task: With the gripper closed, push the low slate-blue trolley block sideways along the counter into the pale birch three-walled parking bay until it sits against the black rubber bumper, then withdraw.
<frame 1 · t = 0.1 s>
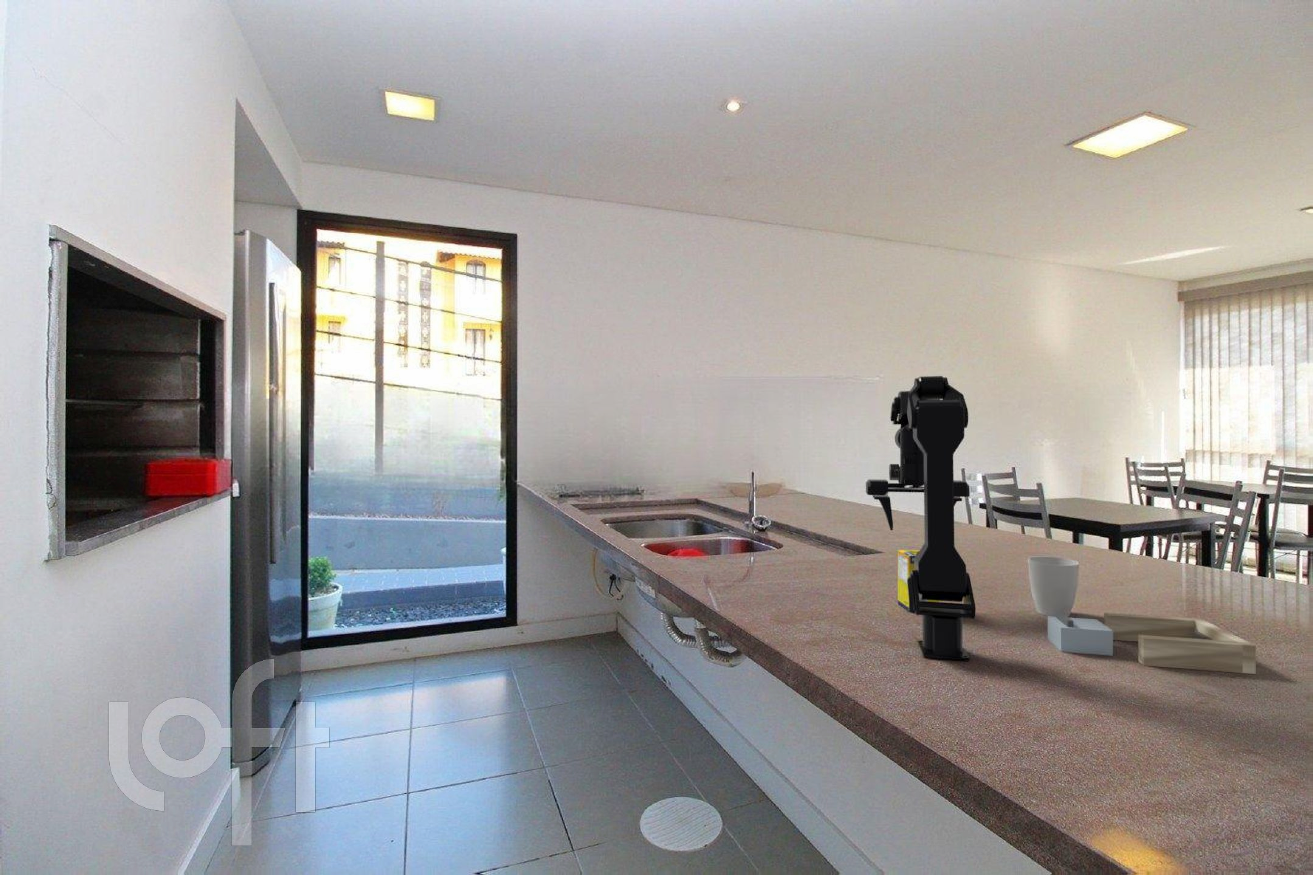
hand: (915, 530, 123), 15 cm above the countertop, fingers open, 9 cm apart
bay: (1167, 653, 94), on the countertop
supplement box: (918, 608, 120), on the countertop
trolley: (1079, 648, 98), on the countertop
cup: (1053, 614, 115), on the countertop
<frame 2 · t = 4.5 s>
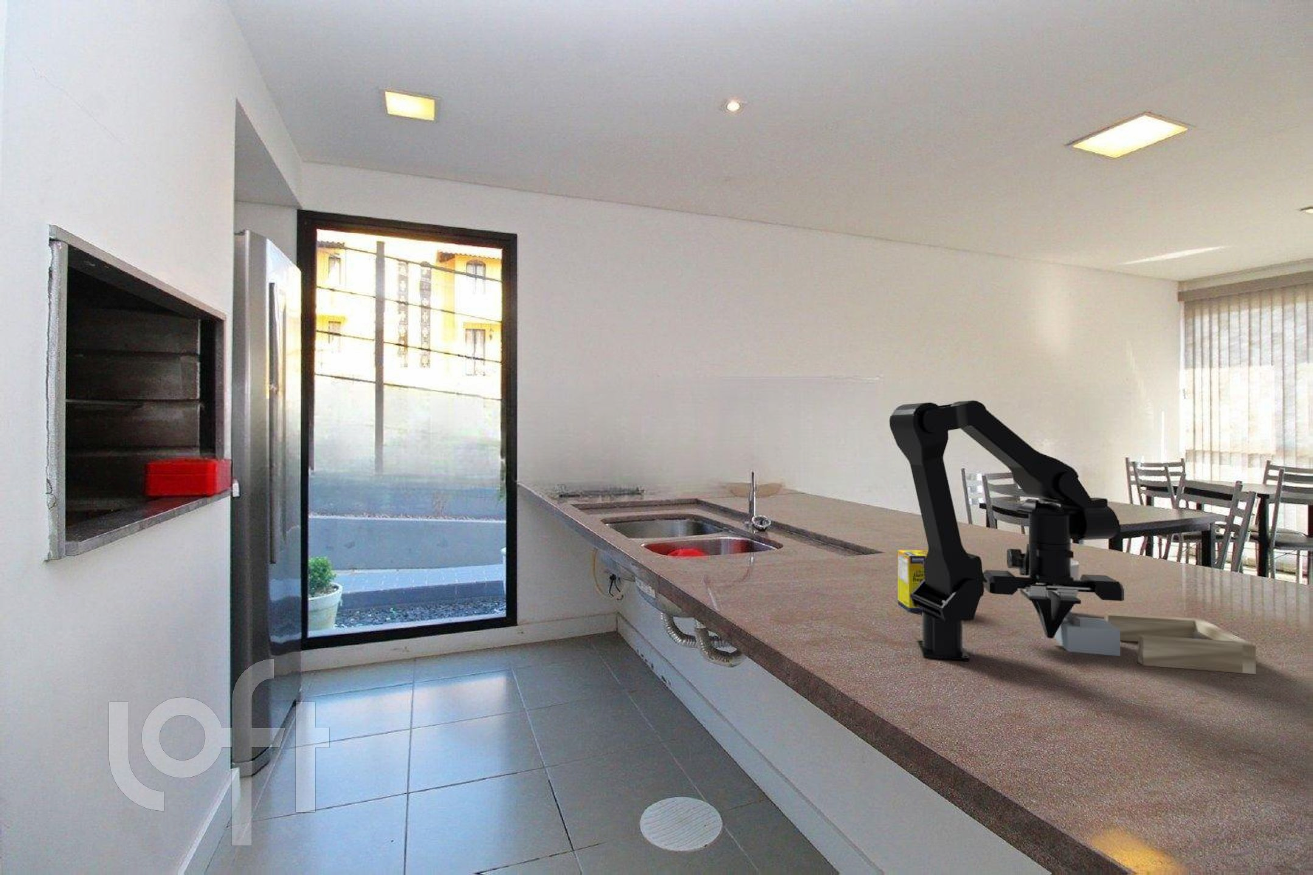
hand: (1049, 637, 99), 1 cm above the countertop, fingers closed
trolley: (1086, 647, 98), on the countertop, touching gripper
everything else where it was.
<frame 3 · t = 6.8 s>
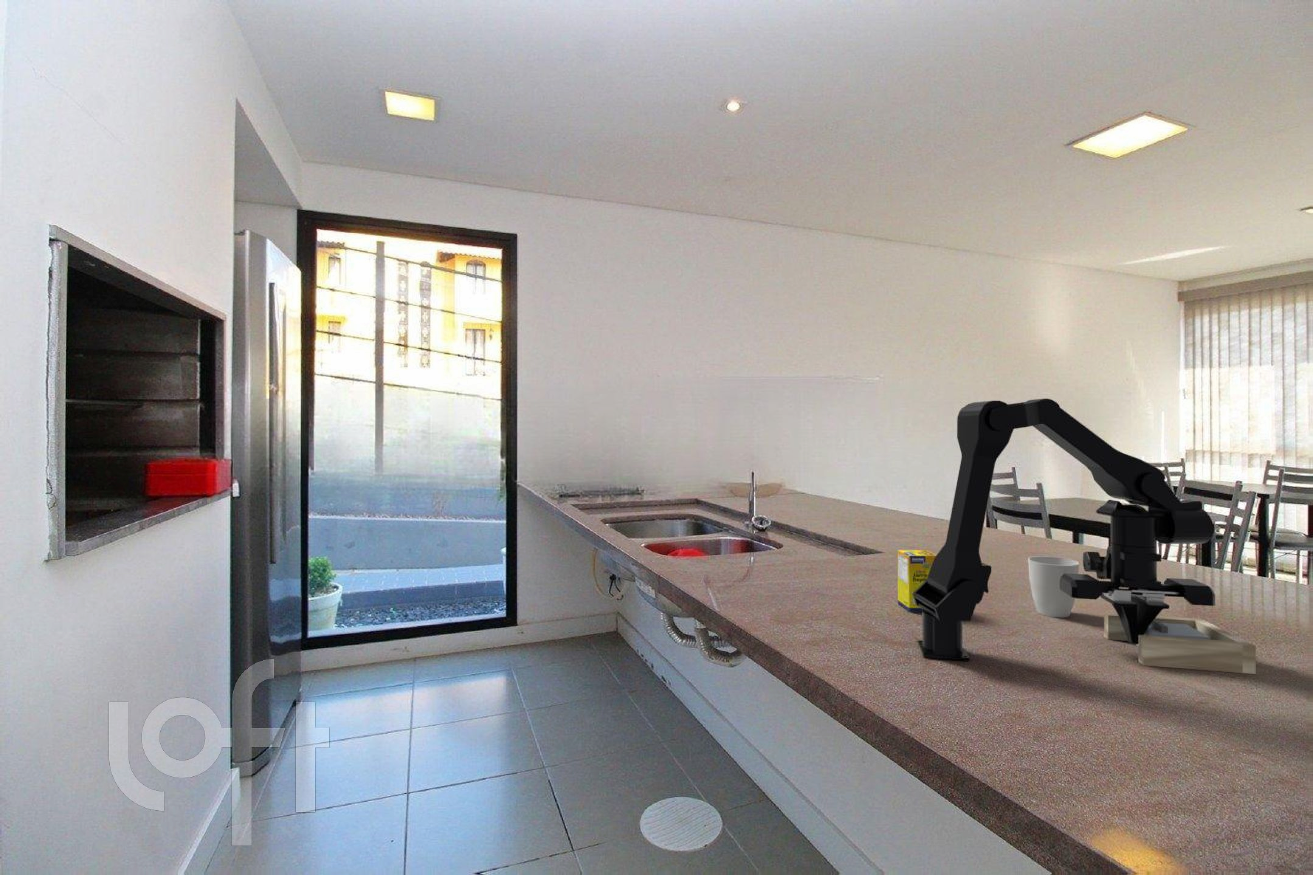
hand: (1133, 643, 96), 1 cm above the countertop, fingers closed
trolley: (1171, 654, 95), resting in bay, touching gripper
everything else where it was.
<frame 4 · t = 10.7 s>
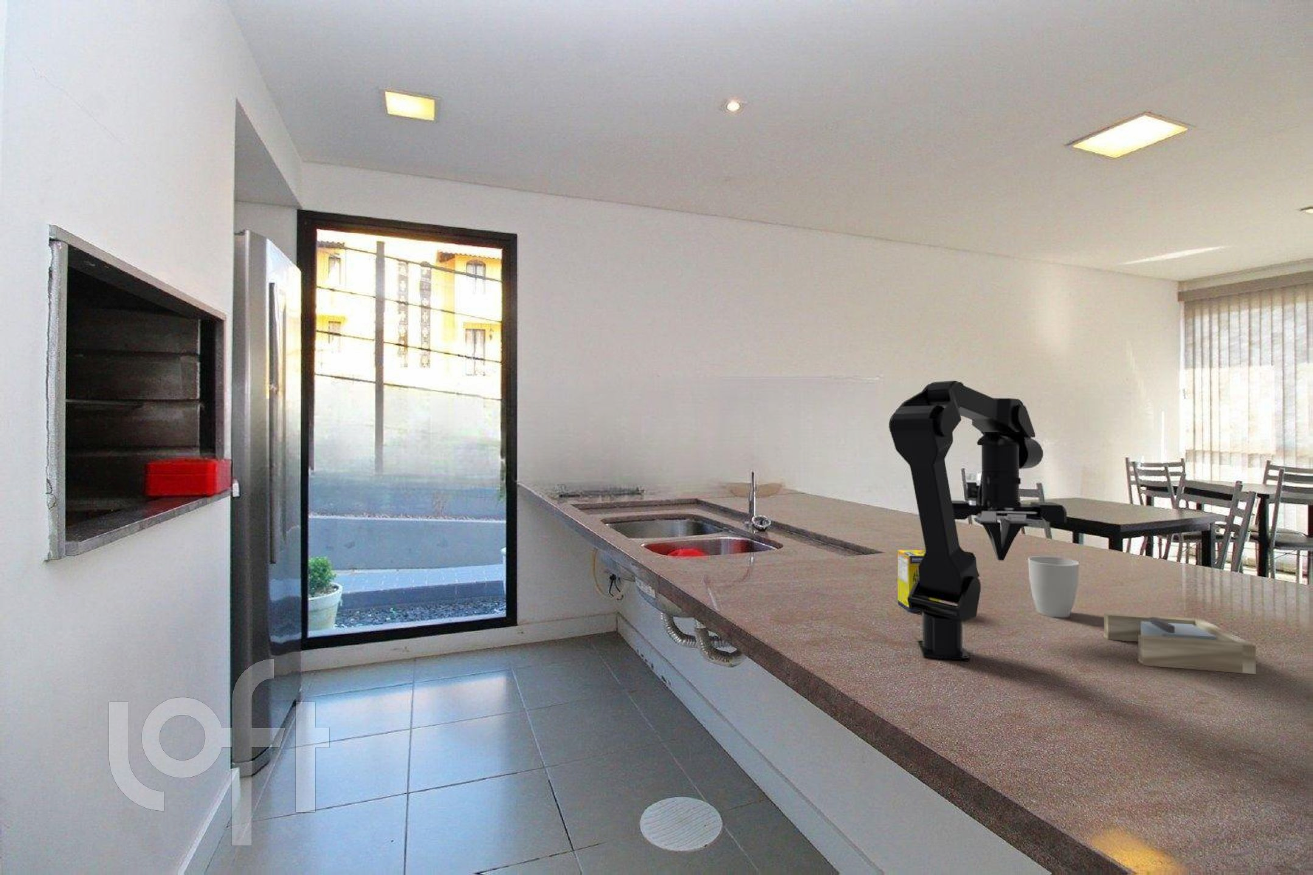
hand: (1000, 560, 107), 12 cm above the countertop, fingers closed
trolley: (1177, 654, 95), resting in bay
everything else where it was.
at the end: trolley inside the target area on the bay (0.5 cm from its centre), point 0.0 cm above the bay's base; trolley tilted 0°; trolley moved 13.5 cm from its start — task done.
